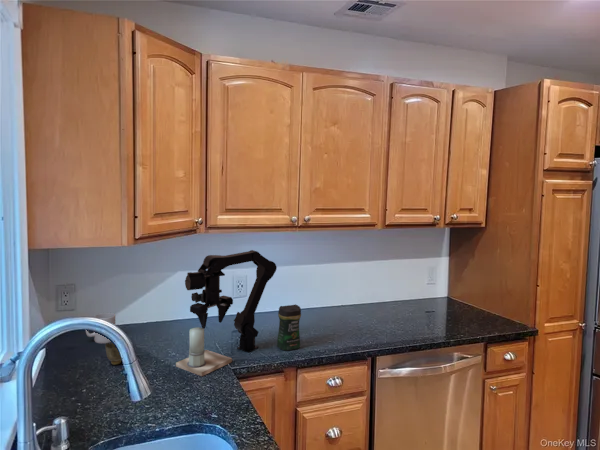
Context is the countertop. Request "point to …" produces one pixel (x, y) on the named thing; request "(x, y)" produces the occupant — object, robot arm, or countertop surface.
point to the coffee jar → (289, 327)
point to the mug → (99, 338)
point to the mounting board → (205, 363)
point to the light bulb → (196, 347)
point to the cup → (112, 354)
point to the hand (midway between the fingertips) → (212, 325)
